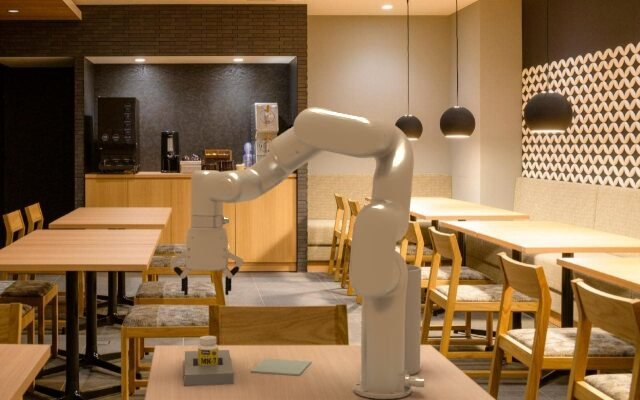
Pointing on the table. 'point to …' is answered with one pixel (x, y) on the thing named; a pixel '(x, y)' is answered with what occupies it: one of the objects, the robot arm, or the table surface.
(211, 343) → the supplement bottle
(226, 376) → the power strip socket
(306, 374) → the table surface
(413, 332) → the cylinder vase
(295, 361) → the rubber mat
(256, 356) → the table surface
